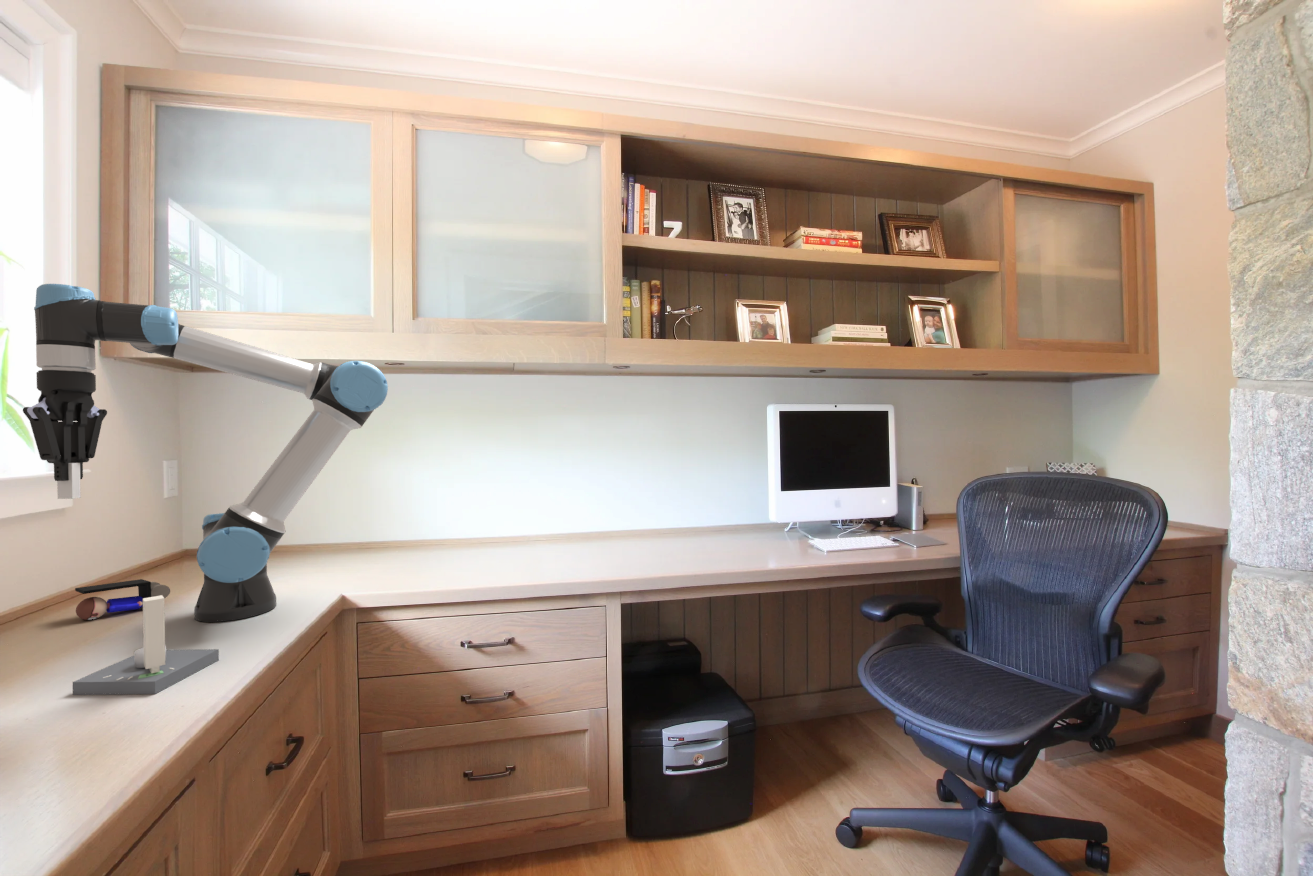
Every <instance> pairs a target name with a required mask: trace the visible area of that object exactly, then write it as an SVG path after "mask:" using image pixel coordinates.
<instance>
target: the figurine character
mask: <svg viewBox="0 0 1313 876" xmlns="http://www.w3.org/2000/svg"><path fill="white" fill-rule="evenodd" d="M133 587H134V588H136V587H137V588H138V589H137V590H138V595H136V596H135V595H133V596H126V597H125V596H124V597H115V598H109V599H107V600H105V598H102V597H100V596H90V597H87V598H85V599H83V600H81V601H80V602H79V603H78V604H77V606H76V608H75V613H76V616H77V617H78V618H79V619H82V620H84V621H93V620H97V619H99V618H101V617H102V616H103V615H105V613H107V614H109V613H118V612H125V611H126V612H127V611H133V610H143V598H149V597H155V596H160V595H162V596H163V597H164V599H166V598H168V596H170V594H171V588H170V587H169V586H168V585H165V584H161V583H160V582H156V581H149V580H146V579H143V578H140V579H133V580H126V581H119V582H118V581H116V582H110V583H104V584H103V583H102V584H96V585H87V586H81V587H75V588H74V591H75V592H77V593H80V594H83V595H85V594H92V593H99V592H100V593H102V592H104V591H105V592H106V591H113V590H121V589H128V588H133ZM92 619H93V620H92Z"/></svg>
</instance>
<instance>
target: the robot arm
mask: <svg viewBox="0 0 1313 876" xmlns="http://www.w3.org/2000/svg"><path fill="white" fill-rule="evenodd" d="M35 292H36V293H35V306H34V309H33V310H34V318H35V321H34V322H35V337H36V338H35V339H36V341H35V343H36V344H35V346H36V348H35V352H36V354H35V355H36V367H37V368H40V369H39V370H37V372H36V389H37V390H38V391H40V396H39V398H38V399H37V400H38V402H37V403H36V404H34V405H32V406H24V407H23V408H22V412H23V414H24V415H25V417H26V418H27V419H28V420H29V423H30V426H31V430H32V433H33V437H34V441H35V444H36V448H37V451H38V454H39V459H40V460H42V461H46V462H47V464H53V478H54V481H55V482H56V483H57V484H56V486H57V489H56V493H57V500H63V499H65V500H67V499H70V500H71V499H73V500H74V499H80V498H82V497H81V495H82V494H81V493H82V492H81V489H82V488H81V480H83V478H84V474H83V473H84V466H83V465H84V463H88V462H89V461H90V459H93V458H95V456H96V451H97V446H98V443H99V438H100V434H101V428H102V426H103V425H102V424H103V420H104V419H105V418H106V416H107V414H108V411H107V410H106V409H104V408H103V409H100V408H98V407H97V406H96V405H95V400H94V399H93V397H92V395H93V393H95V392H96V390H97V382H96V381H97V379H96V374H95V373H93V372H92V371H95V370H96V369H97V366H96V346H95V345H96V341H99V342H100V341H101V342H115V343H128V344H129V345H130V346H132V347H133V348H134V349H136V350H138V351H140V352H144V353H148V354H157V355H159V356H160V355H161V356H164V357H167V358H172V359H176V360H179V361H183V362H187V363H191V364H194V365H198V366H201V367H205V368H209V369H212V370H217V371H220V372H224V373H226V374H227V373H228V374H231V375H235V376H238V377H242V378H246V379H249V380H253V381H257V382H261V383H264V384H268V385H272V386H274V387H278V388H283V389H287V390H290V391H293V392H297V393H302V394H303V395H305V397H306V399H308V400H309V401H310V400H311V402H312V405H313V411H312V412H311V413H310V415H309V416H308V417H307V418H306V420H305V421H304V422H303V424H302V425H301V426H300V427H299V429H298V430H297V431H296V433H295V434H294V435H293V436H292V438H291V439H290V440H289V442H288V443H287V445H286V446H285V447H284V449H283V450H282V451H281V452H280V454H279V455H278V456H277V457H276V459H275V460H274V462H273V463H272V464H271V465H270V467H269V468H268V469H267V470H266V471H265V473H264V474H263V476H262V477H261V479H260V480H258V482H257V484H256V485H255V486H254V487H253V489H252V490H251V491H250V493H249V494H248V495H247V496H246V498H245V499H244V501H242V502H240V503H237V504H233V505H229V507H228V508H227V509H226V510H225V512H221V513H220V512H219V513H210V514H207V515H205V516H204V517H203V522H202V525H201V529H202V532H203V533H202V538H203V539H202V541H201V543H200V544H199V545H198V548H197V549H198V550H197V551H196V560H197V564H198V566H199V568H200V570H201V571H202V573H203V584H202V587H201V590H200V591H199V592H200V593H199V594H198V598H197V601H196V604H195V606H194V611H193V613H194V614H193V615H194V616H193V617H194V620H195V621H199V622H205V623H214V622H216V623H217V622H218V623H219V622H228V621H235V620H242V619H247V618H251V617H255V616H259V615H262V614H264V613H267V612H269V611H271V610H273V609H275V608H276V607H277V595H276V592H275V591H274V589H273V587H272V586H273V585H272V582H271V580H270V579H269V576H268V569H267V568H268V560H269V559H270V554H271V553H272V552H273V550H274V549H275V547H276V546H277V544H278V543H279V541H280V540H281V539H282V538H283V536H284V534H285V533H286V527H285V520H286V519H287V518H288V517H289V515H290V513H292V511H293V509H294V508H295V507H296V506H297V504H298V502H299V501H300V500H301V498H302V497H303V496H304V495H305V493H306V491H307V490H308V489H309V488H310V486H311V485H312V484H313V482H314V481H315V479H317V477H318V476H319V474H320V473H321V472H322V470H323V469H324V467H325V466H326V465H327V463H328V461H329V460H330V459H331V458H332V457H333V455H334V454H335V452H336V451H337V450H338V448H339V447H340V445H341V444H342V443H343V441H344V440H345V439H346V437H347V435H349V433H350V432H351V431H353V430H358V429H362V427H364V426H363V425H364V424H365V423H366V422H367V421H368V419H369V418H370V416H371V415H372V413H373V412H374V410H376V409H377V408H379V407H380V406H381V405H382V404H383V403H384V402H385V401H386V398H387V396H388V391H389V388H388V387H389V385H388V381H387V378H386V376H385V375H384V373H383V372H382V370H380V369H379V368H378V367H377V366H375V365H374V364H373V363H369V362H367V361H361V360H349V361H345V362H344V363H342V364H340V365H333V364H328V363H326V362H321V361H319V362H316V363H310V362H307V361H304V360H300V359H297V358H294V357H290V356H287V355H284V354H280V353H277V352H273V351H270V350H268V349H264V348H261V347H257V346H255V345H254V346H253V345H250V344H247V343H243V342H241V341H237V340H234V339H230V338H227V337H223V336H221V335H218V334H213V333H211V332H207V331H203V330H200V329H197V328H194V327H190V326H187V325H183V324H180V323H179V317H178V314H177V311H176V310H175V309H173V308H171V307H165V306H158V305H155V304H150V305H148V304H137V303H125V302H124V303H123V302H115V301H114V302H112V301H105V300H104V301H103V300H99V299H96V297H95V294H94V292H93V291H92V290H91V289H88V288H86V287H84V286H83V287H82V286H77V285H70V284H65V283H64V284H62V283H45V284H44V283H43V284H40V285H39V286H38V287H36V291H35Z"/></svg>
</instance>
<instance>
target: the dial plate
mask: <svg viewBox="0 0 1313 876" xmlns="http://www.w3.org/2000/svg"><path fill="white" fill-rule="evenodd" d="M219 654H220V651H219V648H213V649H212V648H211V649H210V648H209V649H208V648H207V649H205V648H204V649H202V648H201V649H192V648H191V649H190V648H189V649H183V648H182V649H166V661H165V665H161V666H160V672H156V673H152V674H151V672H150V669H145V667H144V668H136V667H135V662H134V654H133V655H131V656H128V657H127V658H124V659H123V660H120V661H118V662H115V663H113V664H111V665H108V666H106V667H104V668H101V669H99V670H97V671H94V672H93V673H91V674H90V673H89V674H87V675H86V676H83V677H81V678H79V679H76V680H74V681H72V695H81V696H82V695H157V694H158V693H160V692H162V691H164V690H166V689H167V688H169V687H171V686H173V685H175V684H177V683H179V682H181V681H183V680H184V679H186V678H189V677H190V676H192V675H194V674H196V673H197V672H199V671H201V670H203V669H205V668H208V667H209V666H210V665H212V664H215V663H216V662H218V661H220V660H219V659H220V655H219Z"/></svg>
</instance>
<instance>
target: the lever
mask: <svg viewBox="0 0 1313 876" xmlns="http://www.w3.org/2000/svg"><path fill="white" fill-rule="evenodd" d="M165 616H166V615H165V598H164V597H163V596H162V595H160V596H155V597H149V598H143V609H142V632H143V633H142V637H143V641H142V642H143V643H142V645H143V646H142V647H140V648H138V649H135V650H134V654H133V655H134V662H135V667H136V668H144V667H145V669H150V672H151V674H152V673H156V672H160V666H161V665H165V661H166V650H167V645H166V628H165V626H166V617H165Z"/></svg>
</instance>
